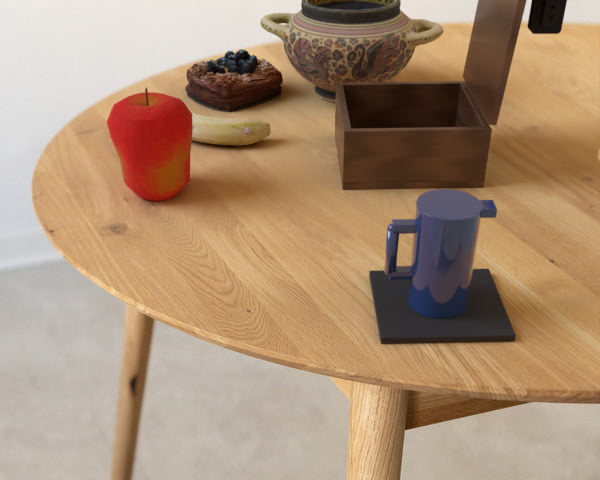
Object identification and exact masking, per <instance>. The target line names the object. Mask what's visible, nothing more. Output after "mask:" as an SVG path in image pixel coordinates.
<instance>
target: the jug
mask: <svg viewBox="0 0 600 480" xmlns="http://www.w3.org/2000/svg"><path fill="white" fill-rule="evenodd" d="M414 210H415V211H414V218H400V219H399V218H397V219H391V223H389V224H388V225H387V227H386V239H385V253H384V268H383V269H384V272H385V274H386V275H387V276H389V279H390V280H409V286H408V297H407V300H408V303H409V305H410V307H411V308H412V309H413V310H414V311H416V312H417V313H419V314H421V315H424V316H426V317H430V318H437V319H447V318H453V317H456V316H458V315H460V314H462V313H463V312H464V311H465V310H466V309H467V307H468V302H469V295H470V288H471V281H472V275H473V269H475V268H474V267H475V261H476V253H477V247H478V240H479V233H480V226H481V219H490V218H491V219H494V218H497V213H498V208H497V205H496V203H495V201H494V200H493V199H479V198H478V197H476V196H475V195H474V194H471V193H469V192H466V191H463V190H459V189H454V188H453V189H452V188H436V189H432V190H428V191H425V192H424V193H421V194H420V195H418V197H417V199H416V201H415V209H414ZM400 234H404V235H405V234H412V244H411V255H410V265H398V254H399V241H400Z"/></svg>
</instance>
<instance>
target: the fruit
mask: <svg viewBox="0 0 600 480" xmlns="http://www.w3.org/2000/svg"><path fill="white" fill-rule="evenodd" d="M190 112H191V113H192V125H193V132H192V141H194V142H198V143H202V144H209V145H221V146H232V147H233V146H234V147H235V146H247V145H248V146H249V145H252V144H255V143H258V142H260V141H262V140H263V139H266V138H268V137H269V136H270V134H271V124H270V122H268V121H263V120H259V119H254V118H247V117H246V118H245V117H244V118H243V117H233V118H232V117H231V118H230V117H229V118H228V117H217V116H216V117H215V116H208V115H204V114H199V113H194V112H192V111H190Z"/></svg>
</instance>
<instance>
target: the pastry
mask: <svg viewBox="0 0 600 480" xmlns="http://www.w3.org/2000/svg"><path fill="white" fill-rule="evenodd" d="M283 78H284V77H283V74H282V72H281V70H279V69H278V68H276V67H275V66H274V65H273V64H272V63H270V62H269V61H268V60H266V59H265V58H261V59H259V58H258V57H257V56H256V55H255V54H252V55H251V54H250V53H249V51H248V50H246V49H239V50H238V51H237V50H236V52H234V50H227V51H226V52H225V53H224V55H223V56H221V57H219V58H217V59H214V60H213V59H212V58H211V59H210V60H201V61H200V62H196V63H193V65H192V66H191V67H190V68H188V69H186V80H187V82H188V83H187V85H186V86H185V90H184V91H185V92H186V95H187V97H188V98H190V99H191V100H192V101H193V102H195V103H198V104H199V105H202V106H203V107H206V108H209V109H211V110H216V111H219V112H225V113H228V112H235V111H240V110H243V109H247V108H250V107H254V106H257V105H260V104H262V103H265V102H268V101H272V100H274V99H276V98H278V97H279V96H281V95H282V91H283V87H282V84H283V82H284V79H283Z"/></svg>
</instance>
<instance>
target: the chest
mask: <svg viewBox="0 0 600 480" xmlns="http://www.w3.org/2000/svg"><path fill="white" fill-rule="evenodd" d="M334 104H335V105H334V139H335V146H336V155H337V161H338V167H339V173H340V181H341V189H342V190H387V189H388V190H390V189H391V190H393V189H452V188H453V189H455V188H461V189H462V188H484V187H485V180H486V173H487V167H488V159H489V152H490V147H491V146H490V145H491V139H492V132H493V129H492V127H491V125H489V123H488V122H487V120H486V118H485V116H484V114H483V113H482V111H481V109H480V107H479V105H478V104H477V102H476V100H475V98H474V96H473V95H472V93H471V91H470V89H469V87H468V86H467V84H466V82H465V80H433V81H431V80H430V81H429V80H427V81H426V80H425V81H424V80H423V81H421V80H420V81H387V82H345V83H336V102H334Z"/></svg>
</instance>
